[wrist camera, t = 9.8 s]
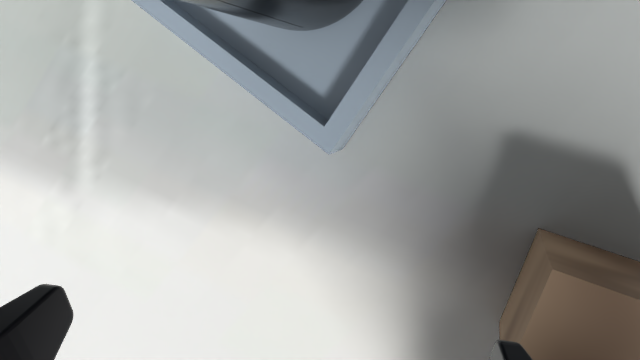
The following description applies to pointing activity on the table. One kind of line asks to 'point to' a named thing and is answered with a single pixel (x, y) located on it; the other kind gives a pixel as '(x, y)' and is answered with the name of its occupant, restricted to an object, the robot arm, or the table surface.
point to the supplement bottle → (285, 11)
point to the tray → (307, 59)
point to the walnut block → (574, 302)
